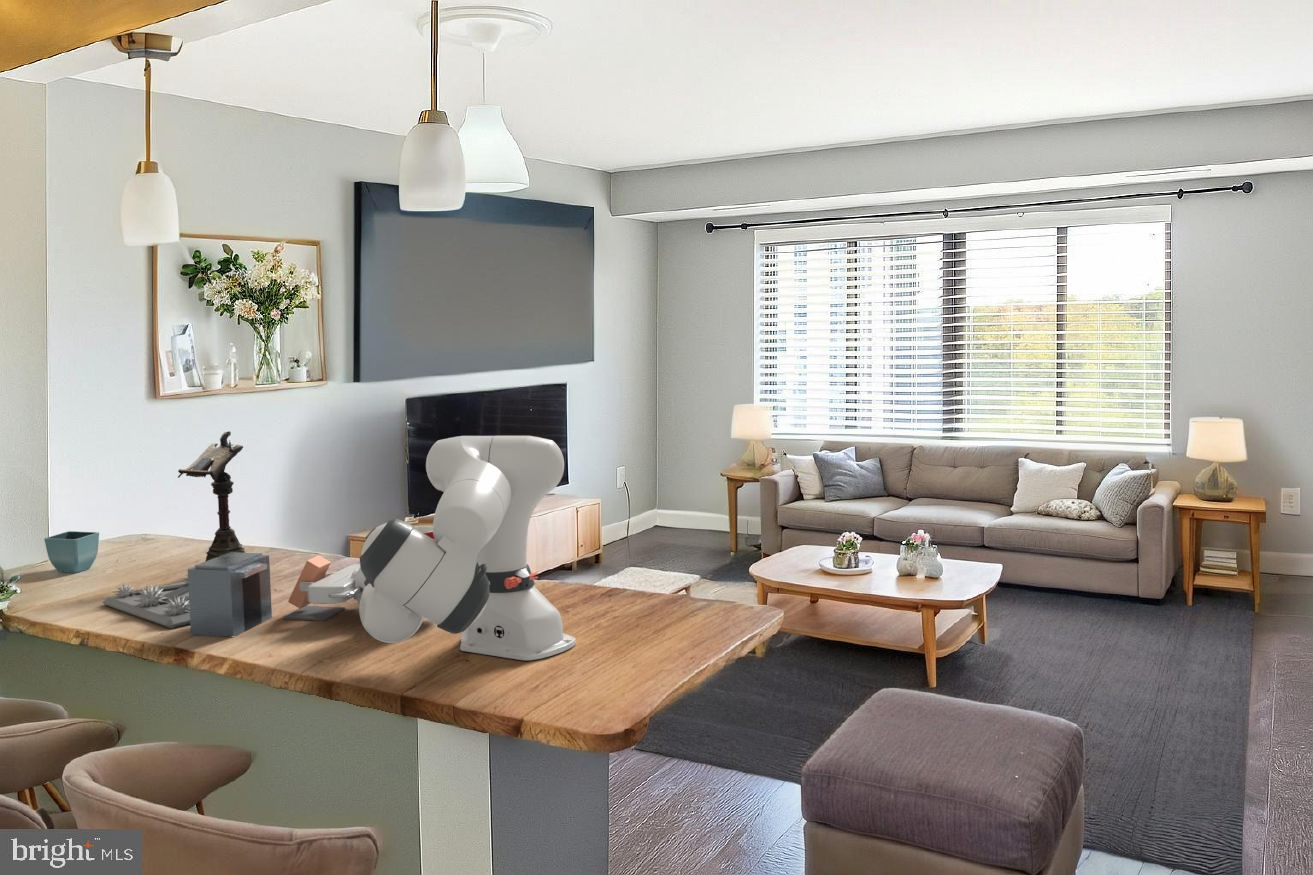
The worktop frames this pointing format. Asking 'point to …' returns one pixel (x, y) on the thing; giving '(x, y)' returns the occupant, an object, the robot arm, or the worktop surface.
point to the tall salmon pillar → (309, 579)
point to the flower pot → (72, 550)
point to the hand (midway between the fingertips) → (309, 582)
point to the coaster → (314, 613)
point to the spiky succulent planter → (155, 603)
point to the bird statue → (218, 492)
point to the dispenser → (229, 594)
